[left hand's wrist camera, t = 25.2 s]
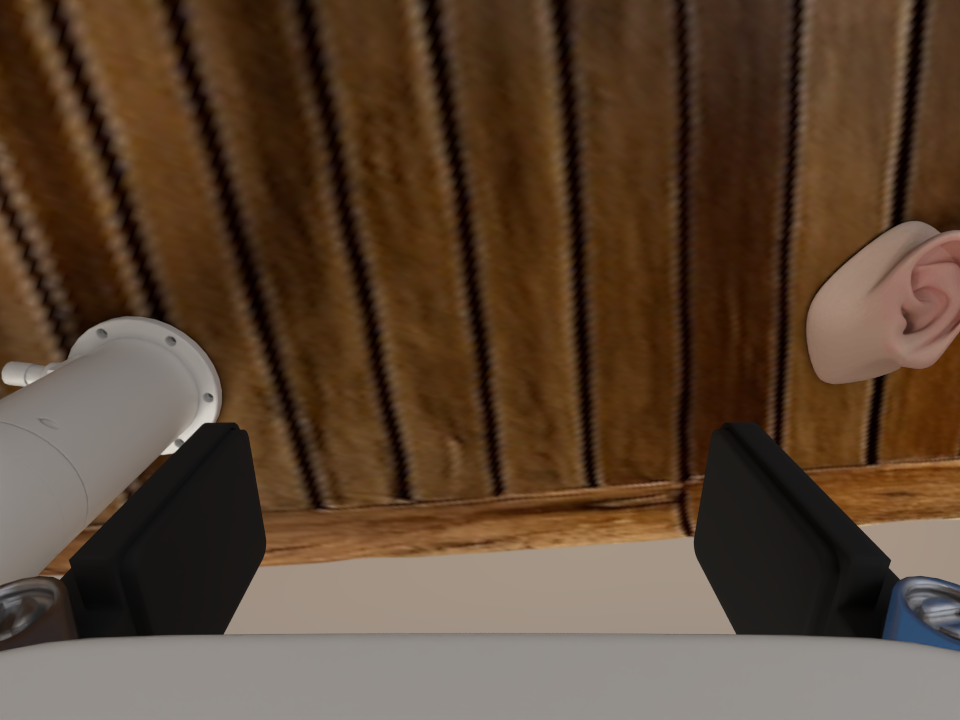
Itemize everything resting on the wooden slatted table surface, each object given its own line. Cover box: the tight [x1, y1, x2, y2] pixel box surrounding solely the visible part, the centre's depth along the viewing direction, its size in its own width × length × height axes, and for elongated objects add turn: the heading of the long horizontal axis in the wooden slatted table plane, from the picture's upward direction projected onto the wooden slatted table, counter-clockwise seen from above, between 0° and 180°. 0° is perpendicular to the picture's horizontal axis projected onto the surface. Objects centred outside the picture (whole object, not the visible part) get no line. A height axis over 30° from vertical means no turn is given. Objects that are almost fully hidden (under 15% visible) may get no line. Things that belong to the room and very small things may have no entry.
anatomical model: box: [806, 221, 960, 384], centre depth 44 cm, size 13×4×12 cm
